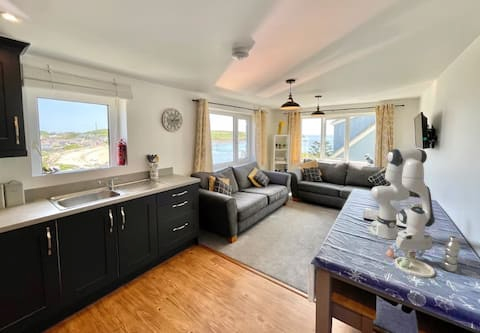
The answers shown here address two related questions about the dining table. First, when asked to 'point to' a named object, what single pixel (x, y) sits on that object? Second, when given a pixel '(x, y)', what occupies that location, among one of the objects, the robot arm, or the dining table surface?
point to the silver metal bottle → (451, 254)
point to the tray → (416, 267)
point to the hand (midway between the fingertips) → (412, 255)
